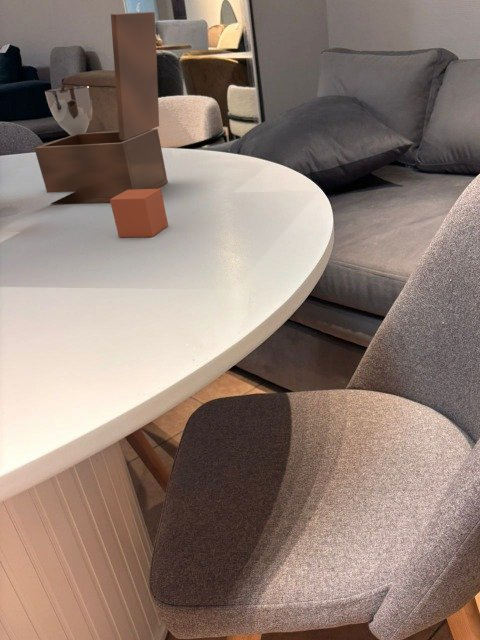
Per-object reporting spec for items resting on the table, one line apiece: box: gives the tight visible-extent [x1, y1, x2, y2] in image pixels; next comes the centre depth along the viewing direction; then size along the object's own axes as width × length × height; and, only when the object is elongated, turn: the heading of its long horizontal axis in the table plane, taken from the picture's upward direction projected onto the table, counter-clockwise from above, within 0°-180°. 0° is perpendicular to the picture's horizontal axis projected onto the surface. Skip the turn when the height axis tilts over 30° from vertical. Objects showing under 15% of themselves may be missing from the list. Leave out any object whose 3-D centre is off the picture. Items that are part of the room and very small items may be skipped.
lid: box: [110, 11, 160, 140], centre depth 97 cm, size 16×13×1 cm
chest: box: [33, 128, 169, 205], centre depth 106 cm, size 16×13×9 cm
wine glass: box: [44, 85, 93, 136], centre depth 123 cm, size 8×8×15 cm
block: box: [110, 188, 169, 238], centre depth 85 cm, size 5×5×5 cm
